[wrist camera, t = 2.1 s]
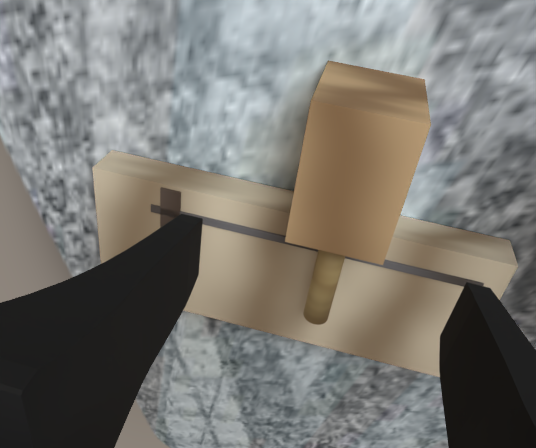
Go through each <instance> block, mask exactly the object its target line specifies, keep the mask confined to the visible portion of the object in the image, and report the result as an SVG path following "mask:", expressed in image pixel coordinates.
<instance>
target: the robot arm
mask: <svg viewBox="0 0 536 448" xmlns="http://www.w3.org/2000/svg"><path fill="white" fill-rule="evenodd" d="M202 223H203V219H202V218H198V217H194V216H190V215H186V214H180V215H179V216H177V217H176V218H174V219H172V220H171V221H170V222H168V223H167V224H165V225H164V226H162V227H161V228H159V229H158V230H156V231H155V232H153V233H152V234H150V235H149V236H147V237H146V238H144V239H142V240H141V241H139V242H138V243H136V244H135V245H133V246H131V247H130V248H128V249H127V250H125V251H123V252H122V253H120V254H118V255H116V256H114V257H113V258H111V259H109V260H107V261H106V262H104V263H102V264H100V265H98V266H96V267H94V268H92V269H90V270H88V271H86V272H84V273H82V274H79V275H77V276H75V277H73V278H70V279H68V280H66V281H63V282H61V283H58V284H56V285H53V286H50V287H47V288H44V289H42V290H39V291H37V292H34V293H31V294H28V295H25V296H22V297H18V298H15V299H12V300H9V301H5V302H2V303H0V448H114V447H115V444H116V442H117V440H118V437H119V435H120V433H121V430H122V428H123V426H124V423H125V421H126V419H127V416H128V414H129V411H130V409H131V407H132V405H133V403H134V400H135V398H136V396H137V394H138V391H139V389H140V387H141V385H142V383H143V380H144V379H145V377H146V375H147V373H148V371H149V369H150V367H151V365H152V364H153V362H154V360H155V358H156V357H157V355H158V353H159V351H160V350H161V348H162V346H163V345H164V343H165V341H166V339H167V338H168V336H169V334H170V332H171V331H172V329H173V327H174V326H175V324H176V322H177V320H178V319H179V317H180V315H181V313H182V312H183V310H184V308H185V306H186V304H187V302H188V300H189V297H190V295H191V292H192V290H193V288H194V285H195V283H196V280H197V278H198V275H199V263H200V250H201V236H202ZM439 372H440V381H441V389H442V398H443V406H444V414H445V421H446V429H447V437H448V445H449V448H536V350H535V349H534V347H533V346H532V345H531V343H530V342H529V341H528V339H527V338H526V337H525V335H524V334H523V333H522V331H521V330H520V328H519V327H518V326H517V324H516V323H515V321H514V320H513V319H512V317H511V316H510V314H509V313H508V312H507V310H506V309H505V307H504V306H503V305H502V303H501V302H500V300H499V299H498V298H497V296H496V295H495V293H494V292H493V291H492V290H491V288H488V287H484V286H480V285H476V284H472V283H468V282H466V284H465V286H464V288H463V290H462V292H461V294H460V296H459V298H458V300H457V302H456V304H455V307H454V309H453V311H452V313H451V315H450V317H449V319H448V321H447V323H446V325H445V327H444V329H443V331H442V333H441V335H440V352H439Z"/></svg>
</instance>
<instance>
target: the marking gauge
mask: <svg viewBox="0 0 536 448" xmlns="http://www.w3.org/2000/svg"><path fill="white" fill-rule="evenodd" d="M430 126H431V122H430V115H429V108H428V101H427V93H426V86H425V79H420V78H414V77H409V76H404V75H399V74H394V73H389V72H384V71H379V70H374V69H368V68H363V67H358V66H353V65H348V64H343V63H338V62H333V61H328V63H327V65H326V67H325V69H324V72H323V74H322V76H321V79H320V81H319V83H318V85H317V88H316V90H315V92H314V95H313V97H312V99H311V103H310V108H309V114H308V119H307V125H306V130H305V135H304V141H303V146H302V152H301V157H300V162H299V168H298V173H297V179H296V184H295V189H294V195H293V200H292V205H291V211H290V216H289V222H288V227H287V232H286V238H285V242H288V243H292V244H296V245H301V246H305V247H309V248H313V249H317V250H318V254H317V258H316V262H315V266H314V271H313V275H312V279H311V283H310V287H309V292H308V296H307V300H306V304H305V308H304V313H303V315H304V318H305V319H306V320H307V321H308V322H310V323H312V324H316V325H320V324H324V323H325V322H326V321H327V320H328V316H329V313H330V309H331V306H332V302H333V298H334V295H335V291H336V288H337V284H338V281H339V277H340V274H341V270H342V266H343V263H344V259H345V256H347V257H351V258H355V259H359V260H363V261H368V262H372V263H376V264H380V265H383V263H384V260H385V258H386V255H387V252H388V249H389V246H390V243H391V240H392V237H393V234H394V231H395V228H396V225H397V222H398V220H399V217H400V214H401V211H402V208H403V205H404V202H405V199H406V196H407V193H408V190H409V187H410V184H411V181H412V179H413V176H414V173H415V170H416V167H417V164H418V161H419V158H420V155H421V152H422V149H423V146H424V143H425V141H426V138H427V135H428V132H429V129H430Z"/></svg>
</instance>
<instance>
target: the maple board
mask: <svg viewBox="0 0 536 448" xmlns="http://www.w3.org/2000/svg"><path fill="white" fill-rule="evenodd" d="M93 179H94V190H95V202H96V213H97V224H98V235H99V247H100V258H101V264H102V263H104V262H106V261H107V260H109V259H111V258H113V257H114V256H116V255H118V254H120V253H122V252H123V251H125V250H127V249H128V248H130V247H131V246H133V245H135V244H136V243H138V242H139V241H141V240H142V239H144V238H146V237H147V236H149V235H150V234H152V233H153V232H155V231H156V230H158V229H159V228H161V227H162V226H164V225H165V224H167V223H168V222H170V221H171V220H172V219H174V218H176V217H177V216H179V215H180V214H186V215H190V216H194V217H198V218H202V219H203V223H202V236H201V250H200V263H199V275H198V278H197V280H196V283H195V285H194V288H193V290H192V292H191V295H190V297H189V300H188V302H187V304H186V306H185V308H184V310H183V311H187V312H191V313H195V314H199V315H202V316H206V317H210V318H214V319H218V320H222V321H226V322H229V323H233V324H237V325H241V326H245V327H249V328H252V329H256V330H260V331H264V332H268V333H272V334H275V335H279V336H283V337H287V338H291V339H295V340H298V341H302V342H306V343H310V344H314V345H318V346H322V347H325V348H329V349H333V350H337V351H341V352H345V353H348V354H352V355H356V356H360V357H364V358H368V359H371V360H375V361H379V362H383V363H387V364H391V365H395V366H398V367H402V368H406V369H410V370H414V371H418V372H421V373H425V374H429V375H433V376H437V377H440V372H439V352H440V335H441V333H442V331H443V329H444V327H445V325H446V323H447V321H448V319H449V317H450V315H451V313H452V311H453V309H454V307H455V304H456V302H457V300H458V298H459V296H460V294H461V292H462V290H463V288H464V286H465V284H466V282H468V283H472V284H476V285H480V286H484V287H488V288H491V290H492V291H493V292H494V293H495V295H496V296H497V298H498V299H499V300H500V299H501V297H502V295H503V293H504V291H505V289H506V288H507V286H508V284H509V282H510V280H511V279H512V277H513V275H514V273H515V271H516V269H517V268H518V264H517V261H516V258H515V255H514V252H513V249H512V245H511V242H510V240H506V239H502V238H497V237H493V236H489V235H484V234H480V233H475V232H471V231H466V230H462V229H458V228H453V227H449V226H444V225H440V224H436V223H431V222H427V221H422V220H418V219H414V218H409V217H405V216H400V217H399V220H398V222H397V225H396V228H395V231H394V234H393V237H392V240H391V243H390V246H389V249H388V252H387V255H386V258H385V260H384V263H383V265H380V264H376V263H372V262H368V261H363V260H359V259H355V258H351V257H347V256H345V259H344V263H343V266H342V270H341V274H340V277H339V281H338V284H337V288H336V291H335V295H334V298H333V302H332V306H331V309H330V313H329V316H328V320H327V321H326V322H325V323H324V324H320V325H316V324H312V323H310V322H308V321H307V320H306V319H305V318H304V315H303V313H304V308H305V304H306V300H307V296H308V292H309V287H310V283H311V279H312V275H313V271H314V266H315V262H316V258H317V254H318V250H317V249H313V248H309V247H305V246H301V245H296V244H292V243H288V242H285V238H286V232H287V227H288V222H289V216H290V211H291V205H292V200H293V195H294V191H290V190H286V189H281V188H277V187H272V186H268V185H264V184H259V183H255V182H250V181H246V180H242V179H237V178H233V177H228V176H224V175H220V174H215V173H211V172H206V171H202V170H198V169H193V168H189V167H184V166H180V165H175V164H171V163H167V162H162V161H158V160H153V159H149V158H145V157H140V156H136V155H131V154H127V153H123V152H118V151H114V150H112V151H111V152H110V153H108V154H107V155H106V156H105V157H104V158H103V159H102V160H101V161H99V162H98V163H97V164H96V165H95V166H94V167H93Z"/></svg>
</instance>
